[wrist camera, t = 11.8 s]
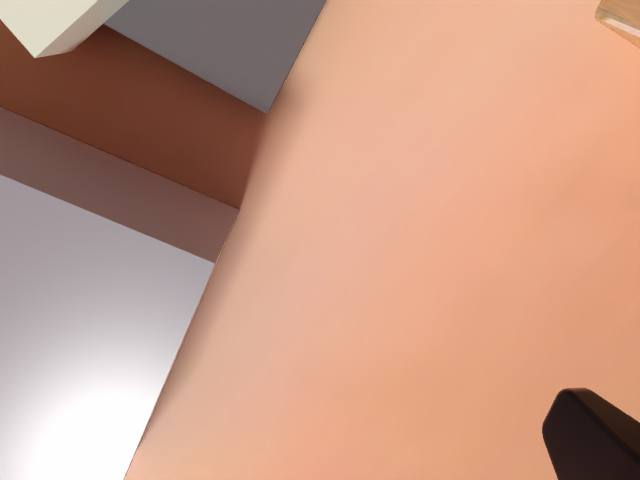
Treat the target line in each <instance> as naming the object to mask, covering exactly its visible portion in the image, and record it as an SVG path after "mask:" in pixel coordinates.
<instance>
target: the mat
mask: <svg viewBox="0 0 640 480" xmlns="http://www.w3.org/2000/svg"><path fill="white" fill-rule="evenodd" d="M325 2H326V0H129V1H128V2H127V3H126V4H125V5H123V6H122V7H121V8H120V9H119V10H118V11H117V12H116V13H114V14H113V15H112V16H111V17H110V18H109V19H108V20H107V21H105V22H104V23H103V24H105V25H107V26H108V27H110V28H112V29H114V30H116V31H117V32H119V33H121V34H123V35H125V36H126V37H128V38H130V39H132V40H133V41H135V42H137V43H139V44H141V45H142V46H144V47H146V48H148V49H150V50H151V51H153V52H155V53H157V54H159V55H160V56H162V57H164V58H166V59H168V60H169V61H171V62H173V63H175V64H177V65H178V66H180V67H182V68H184V69H186V70H187V71H189V72H191V73H193V74H195V75H196V76H198V77H200V78H202V79H204V80H205V81H207V82H209V83H211V84H213V85H214V86H216V87H218V88H220V89H222V90H223V91H225V92H227V93H229V94H231V95H232V96H234V97H236V98H238V99H240V100H241V101H243V102H245V103H247V104H249V105H250V106H252V107H254V108H256V109H258V110H259V111H261V112H263V113H265V114H267V113H268V111H269V110H270V108H271V106H272V104H273V102H274V100H275V98H276V96H277V94H278V93H279V91H280V89H281V87H282V85H283V83H284V81H285V79H286V77H287V75H288V73H289V71H290V69H291V67H292V66H293V64H294V62H295V60H296V58H297V56H298V54H299V52H300V50H301V48H302V46H303V44H304V42H305V41H306V39H307V37H308V35H309V33H310V31H311V29H312V27H313V25H314V23H315V21H316V19H317V17H318V16H319V14H320V12H321V10H322V8H323V6H324V4H325Z"/></svg>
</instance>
